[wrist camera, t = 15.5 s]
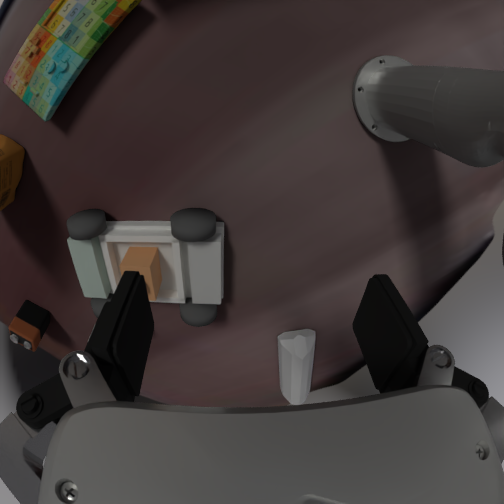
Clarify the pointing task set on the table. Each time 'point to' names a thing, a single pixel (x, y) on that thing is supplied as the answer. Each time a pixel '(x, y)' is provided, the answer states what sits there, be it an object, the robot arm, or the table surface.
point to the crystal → (296, 364)
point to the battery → (29, 325)
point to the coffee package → (9, 169)
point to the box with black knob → (144, 267)
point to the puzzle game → (62, 50)
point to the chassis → (170, 256)
